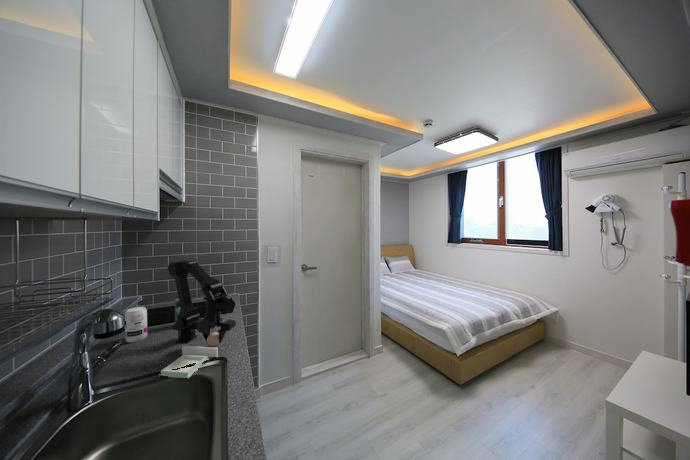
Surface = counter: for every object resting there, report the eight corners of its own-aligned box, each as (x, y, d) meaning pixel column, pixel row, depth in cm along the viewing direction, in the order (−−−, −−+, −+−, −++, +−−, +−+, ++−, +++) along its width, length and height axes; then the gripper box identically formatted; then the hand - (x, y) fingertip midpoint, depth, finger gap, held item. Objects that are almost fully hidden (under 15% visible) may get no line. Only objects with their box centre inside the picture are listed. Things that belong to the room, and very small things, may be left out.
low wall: (182, 355, 101) (181, 346, 101) (183, 354, 102) (183, 345, 102) (216, 357, 99) (216, 348, 99) (217, 356, 100) (217, 347, 100)
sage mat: (158, 376, 87) (158, 371, 87) (183, 358, 99) (183, 353, 99) (188, 378, 86) (188, 373, 86) (209, 359, 98) (209, 355, 98)
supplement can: (138, 334, 120) (138, 305, 120) (151, 335, 118) (151, 307, 118) (120, 342, 112) (120, 311, 112) (134, 343, 110) (133, 312, 110)
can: (178, 328, 127) (178, 301, 127) (173, 325, 130) (173, 299, 130) (190, 324, 132) (190, 298, 132) (185, 321, 135) (185, 296, 135)
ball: (203, 348, 106) (203, 335, 106) (212, 342, 112) (212, 329, 112) (216, 349, 105) (215, 336, 105) (224, 342, 111) (223, 330, 111)
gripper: (181, 315, 101) (181, 350, 101) (222, 317, 99) (222, 353, 100) (199, 306, 112) (200, 338, 112) (236, 307, 110) (236, 340, 111)
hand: (214, 342), depth 108 cm, fingers closed on ball, 6 cm apart
